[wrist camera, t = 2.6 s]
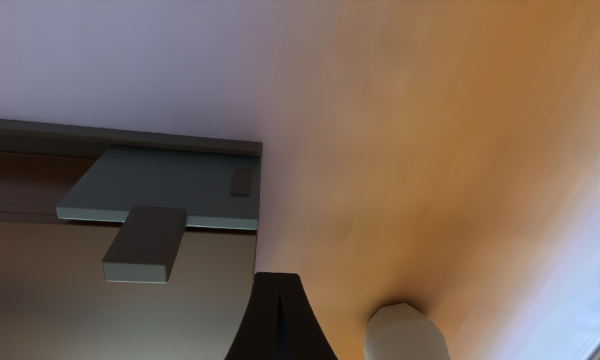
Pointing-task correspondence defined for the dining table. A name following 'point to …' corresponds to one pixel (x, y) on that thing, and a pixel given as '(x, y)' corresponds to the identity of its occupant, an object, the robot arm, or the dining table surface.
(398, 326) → the salt shaker
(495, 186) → the dining table surface
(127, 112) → the dining table surface
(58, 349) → the cabinet
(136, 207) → the door
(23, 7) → the dining table surface
